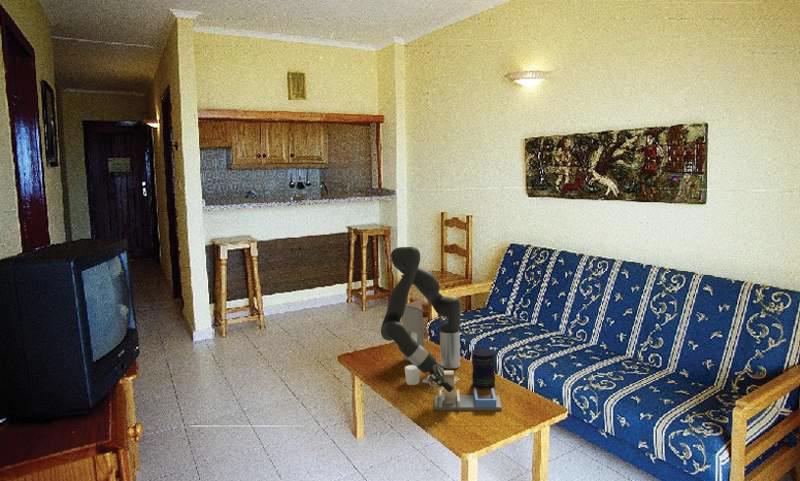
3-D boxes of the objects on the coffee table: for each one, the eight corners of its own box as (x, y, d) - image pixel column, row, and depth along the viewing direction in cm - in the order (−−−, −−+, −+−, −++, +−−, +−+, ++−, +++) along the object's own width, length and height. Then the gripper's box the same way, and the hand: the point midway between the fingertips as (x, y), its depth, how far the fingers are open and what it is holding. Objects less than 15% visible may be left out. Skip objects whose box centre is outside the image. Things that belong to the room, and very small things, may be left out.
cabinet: (424, 366, 254) (422, 309, 251) (404, 367, 255) (401, 310, 251) (422, 351, 275) (421, 298, 271) (404, 352, 275) (402, 299, 272)
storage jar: (500, 386, 229) (499, 345, 226) (481, 391, 224) (481, 350, 222) (485, 378, 237) (484, 339, 235) (467, 383, 233) (466, 343, 230)
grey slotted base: (434, 398, 219) (434, 388, 218) (498, 398, 217) (498, 388, 216) (434, 410, 208) (434, 400, 208) (501, 410, 206) (501, 399, 205)
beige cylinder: (422, 380, 238) (421, 365, 237) (417, 386, 232) (417, 370, 231) (407, 378, 240) (407, 363, 240) (402, 384, 234) (402, 369, 233)
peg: (444, 399, 215) (443, 370, 213) (454, 399, 215) (453, 370, 213) (444, 403, 211) (443, 374, 209) (454, 403, 211) (454, 374, 209)
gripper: (427, 358, 204) (458, 387, 204) (428, 346, 218) (457, 372, 218) (414, 371, 205) (444, 400, 206) (416, 358, 219) (444, 385, 220)
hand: (451, 386), depth 212 cm, fingers open, 8 cm apart
